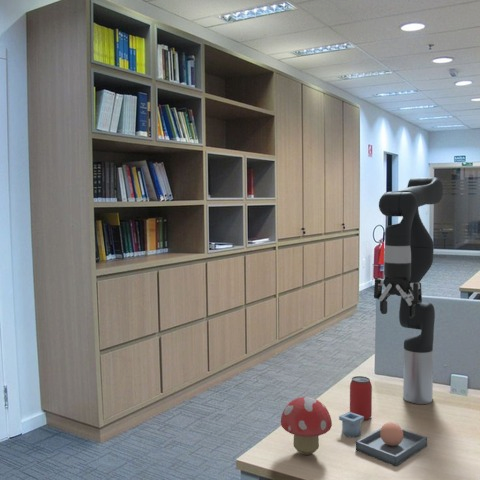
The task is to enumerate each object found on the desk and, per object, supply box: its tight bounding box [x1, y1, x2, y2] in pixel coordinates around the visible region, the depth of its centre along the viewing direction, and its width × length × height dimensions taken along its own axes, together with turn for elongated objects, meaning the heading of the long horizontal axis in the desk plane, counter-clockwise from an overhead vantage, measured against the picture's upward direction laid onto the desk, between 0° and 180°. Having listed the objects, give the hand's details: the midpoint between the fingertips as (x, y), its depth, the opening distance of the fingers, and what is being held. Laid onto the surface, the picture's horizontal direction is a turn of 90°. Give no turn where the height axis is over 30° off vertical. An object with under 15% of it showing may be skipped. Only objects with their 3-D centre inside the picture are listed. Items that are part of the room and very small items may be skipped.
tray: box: [355, 427, 428, 467], centre depth 140 cm, size 16×12×2 cm
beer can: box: [349, 375, 373, 421], centre depth 161 cm, size 7×7×12 cm
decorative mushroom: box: [280, 396, 333, 456], centre depth 137 cm, size 13×13×15 cm
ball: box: [380, 421, 403, 446], centre depth 140 cm, size 6×6×6 cm
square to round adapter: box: [338, 411, 365, 438], centre depth 150 cm, size 5×5×5 cm
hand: (396, 315), depth 153 cm, fingers open, 8 cm apart
